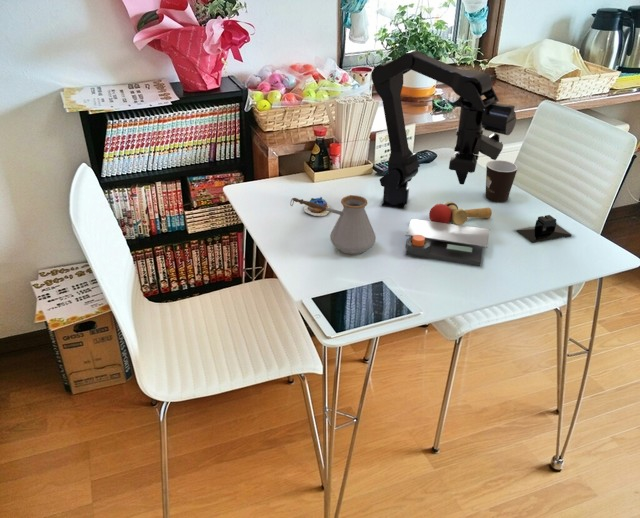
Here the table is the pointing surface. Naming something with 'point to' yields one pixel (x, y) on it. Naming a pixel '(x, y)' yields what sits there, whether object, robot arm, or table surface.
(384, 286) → the table surface
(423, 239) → the button
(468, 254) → the scale
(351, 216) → the coffee pot
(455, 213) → the kendama
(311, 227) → the table surface
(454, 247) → the scale display
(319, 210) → the dessert
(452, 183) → the table surface
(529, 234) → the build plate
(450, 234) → the pan
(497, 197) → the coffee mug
